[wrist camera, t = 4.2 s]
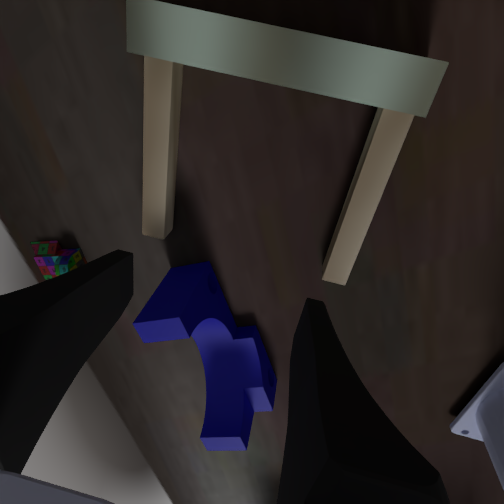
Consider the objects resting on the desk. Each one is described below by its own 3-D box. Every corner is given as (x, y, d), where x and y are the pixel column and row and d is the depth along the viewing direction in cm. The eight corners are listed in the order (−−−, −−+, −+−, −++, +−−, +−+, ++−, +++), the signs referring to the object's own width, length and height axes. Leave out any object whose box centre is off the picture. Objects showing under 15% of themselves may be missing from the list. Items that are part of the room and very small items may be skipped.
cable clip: (277, 378, 29) (267, 450, 23) (227, 381, 30) (207, 450, 25) (230, 255, 23) (204, 313, 18) (171, 266, 25) (132, 323, 19)
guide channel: (427, 60, 16) (449, 62, 13) (343, 271, 22) (346, 303, 19) (158, 3, 16) (126, -6, 14) (152, 224, 23) (129, 247, 20)
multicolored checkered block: (79, 234, 25) (57, 250, 23) (93, 267, 26) (74, 286, 24) (31, 237, 26) (6, 253, 24) (47, 269, 27) (25, 287, 25)
